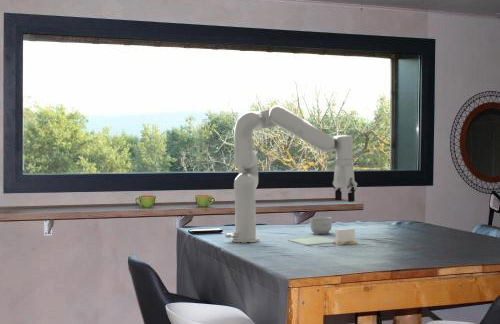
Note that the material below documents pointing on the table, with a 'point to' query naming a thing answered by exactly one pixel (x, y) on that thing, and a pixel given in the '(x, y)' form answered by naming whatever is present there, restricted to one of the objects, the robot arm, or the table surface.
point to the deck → (344, 235)
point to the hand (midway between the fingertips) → (344, 200)
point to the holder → (345, 242)
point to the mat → (312, 241)
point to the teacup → (320, 225)
